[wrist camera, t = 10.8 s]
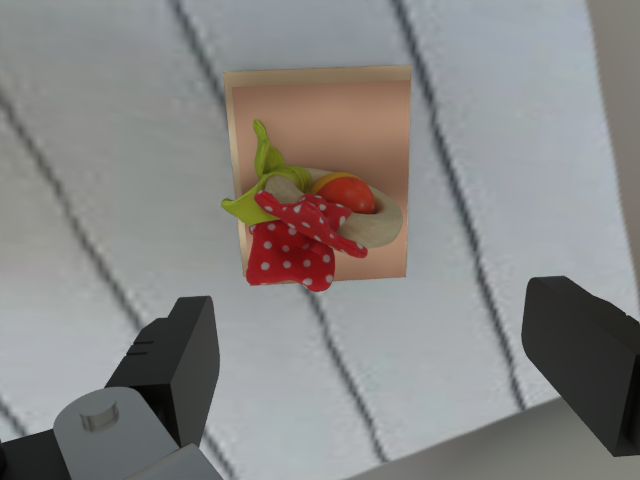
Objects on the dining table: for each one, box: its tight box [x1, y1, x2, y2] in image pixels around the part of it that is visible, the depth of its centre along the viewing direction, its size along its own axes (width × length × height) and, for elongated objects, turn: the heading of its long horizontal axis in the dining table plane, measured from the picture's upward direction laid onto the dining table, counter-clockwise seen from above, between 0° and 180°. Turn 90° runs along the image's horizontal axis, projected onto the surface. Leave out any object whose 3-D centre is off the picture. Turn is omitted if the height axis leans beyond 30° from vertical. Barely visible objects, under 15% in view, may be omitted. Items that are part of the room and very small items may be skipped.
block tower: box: [223, 65, 411, 286], centre depth 31 cm, size 14×12×8 cm
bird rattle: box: [221, 118, 403, 292], centre depth 22 cm, size 6×11×9 cm
